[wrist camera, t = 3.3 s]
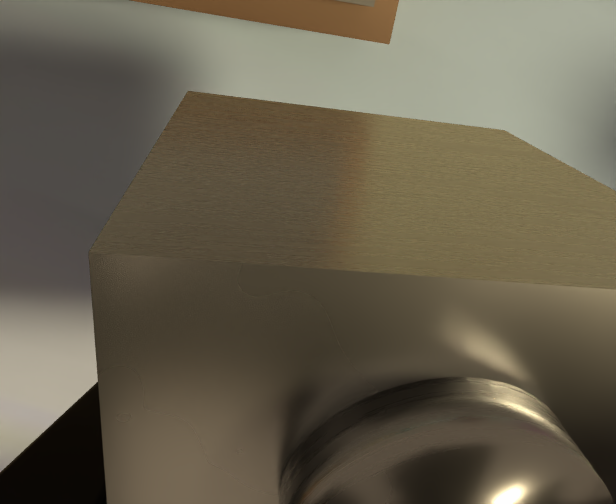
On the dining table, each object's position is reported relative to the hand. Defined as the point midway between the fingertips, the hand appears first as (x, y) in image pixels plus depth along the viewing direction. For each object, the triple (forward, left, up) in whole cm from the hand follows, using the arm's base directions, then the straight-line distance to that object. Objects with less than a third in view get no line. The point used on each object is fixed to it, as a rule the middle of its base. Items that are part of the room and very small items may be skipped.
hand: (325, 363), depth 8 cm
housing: (0, 0, -1) cm, 1 cm away
